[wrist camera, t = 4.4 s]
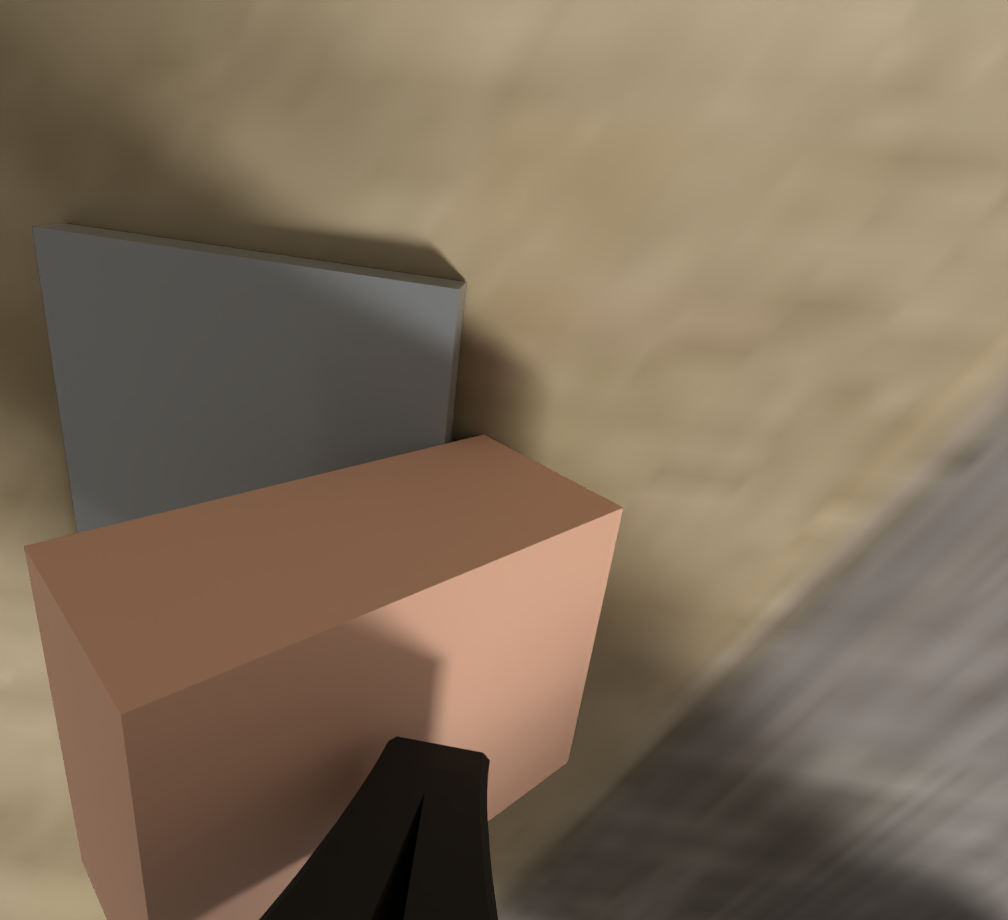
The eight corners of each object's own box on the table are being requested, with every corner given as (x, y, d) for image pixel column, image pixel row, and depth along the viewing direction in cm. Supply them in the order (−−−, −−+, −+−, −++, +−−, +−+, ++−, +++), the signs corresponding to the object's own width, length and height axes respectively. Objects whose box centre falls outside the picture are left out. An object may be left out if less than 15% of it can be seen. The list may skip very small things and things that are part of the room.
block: (623, 508, 12) (120, 714, 7) (567, 762, 15) (166, 1060, 9) (483, 434, 14) (23, 546, 9) (455, 665, 17) (81, 860, 11)
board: (466, 281, 13) (459, 288, 12) (420, 752, 18) (412, 777, 17) (62, 223, 14) (31, 226, 13) (123, 696, 19) (104, 718, 18)
